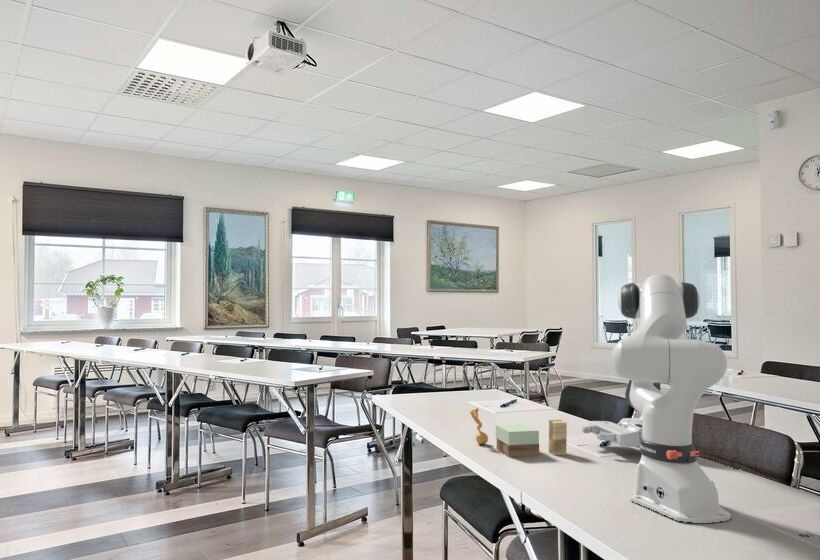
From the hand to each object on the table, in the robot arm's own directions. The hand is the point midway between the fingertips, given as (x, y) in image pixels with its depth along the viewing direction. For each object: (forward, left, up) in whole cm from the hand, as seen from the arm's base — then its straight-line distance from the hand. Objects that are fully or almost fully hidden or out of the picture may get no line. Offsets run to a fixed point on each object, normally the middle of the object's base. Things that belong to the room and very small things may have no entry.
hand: (590, 433), depth 188 cm
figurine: (+14, +32, -6) cm, 36 cm away
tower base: (+3, +23, -6) cm, 24 cm away
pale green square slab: (+3, +24, -2) cm, 24 cm away
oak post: (0, +11, -6) cm, 13 cm away
